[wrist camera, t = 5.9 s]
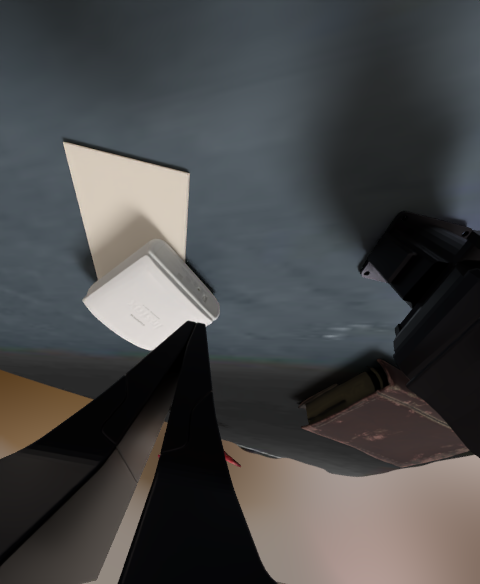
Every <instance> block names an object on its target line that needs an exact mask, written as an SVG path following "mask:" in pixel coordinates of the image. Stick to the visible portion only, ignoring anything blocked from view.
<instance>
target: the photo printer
mask: <svg viewBox="0 0 480 584" xmlns="http://www.w3.org/2000/svg"><path fill="white" fill-rule="evenodd" d="M82 301H83V302H84V304H85V305H86V307H87V308H88V309H89V310H90V312H91V313H92V314H93V315H94V316H95V317H96V318H97V319H99V320H100V321H101V322H102V323H103V324H104V325H106V326H107V327H108V328H109V329H111V330H112V331H113V332H115V333H116V334H118V335H119V336H121V337H122V338H124V339H126V340H127V341H129V342H131V343H132V344H134V345H136V346H138V347H141V348H143V349H147V350H154V349H155V348H156V347H157V346H158V345H160V344H161V343H162V342H163V341H164V340H165V339H166V338H168V337H169V336H170V335H171V334H172V333H173V332H175V331H176V330H177V329H178V328H179V327H180V326H182V325H183V324H184V323H185V322H186V321H193V322H196V323H197V322H198V323H203V324H205V325H206V326H208V325H209V324H211V323H212V321H213V320H215V319H217V318H218V316H219V313H220V306H219V303H218V302H217V299H216V298H215V297H214V295H213V294H212V293H211V291H210V290H209V289H208V288H207V287H206V286H205V285H204V284H203V282H202V281H201V280H200V279H199V278H198V277H197V276H196V275H195V273H194V272H193V271H192V270H191V269H190V268H189V267H188V266H187V265H186V263H185V262H184V261H183V260H182V259H181V258H180V257H179V256H178V255H177V253H176V252H175V251H174V250H173V249H172V248H171V247H170V246H169V245H168V244H167V243H166V242H165V241H163V240H161V239H153V240H151V241H149V242H148V243H147V244H145V245H144V246H143V247H141V248H140V249H139V250H137V251H136V252H135V253H133V254H132V255H131V256H129V257H128V258H127V259H125V260H124V261H123V262H121V263H120V264H119V265H118V266H116V267H115V268H114V269H112V270H111V271H110V272H108V273H107V274H106V275H104V276H103V277H102V278H101V279H99V280H98V281H97V282H95V283H94V284H93V285H92V286H91V287H90V289H89V290H88V293H87V296H86V297H84V298H83V299H82Z"/></svg>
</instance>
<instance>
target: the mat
mask: <svg viewBox="0 0 480 584" xmlns="http://www.w3.org/2000/svg"><path fill="white" fill-rule="evenodd" d="M63 144H64V148H65V152H66V156H67V160H68V164H69V168H70V172H71V176H72V180H73V184H74V188H75V192H76V195H77V199H78V203H79V207H80V211H81V215H82V219H83V223H84V227H85V231H86V235H87V239H88V243H89V247H90V251H91V254H92V258H93V262H94V266H95V270H96V274H97V278H98V280H99V279H101V278H102V277H103V276H104V275H106V274H107V273H108V272H110V271H111V270H112V269H114V268H115V267H116V266H118V265H119V264H120V263H121V262H123V261H124V260H125V259H127V258H128V257H129V256H131V255H132V254H133V253H135V252H136V251H137V250H139V249H140V248H141V247H143V246H144V245H145V244H147V243H148V242H149V241H151V240H153V239H161V240H163V241H165V242H166V243H167V244H168V245H169V246H170V247H171V248H172V249H173V250H174V251H175V252H176V253H177V255H178V256H179V257H180V258H181V259H182V260H183V261H184V262H185V253H186V235H187V216H188V198H189V180H190V173H187V172H183V171H179V170H175V169H171V168H167V167H163V166H159V165H155V164H152V163H148V162H144V161H140V160H136V159H132V158H128V157H124V156H120V155H116V154H112V153H108V152H104V151H100V150H96V149H92V148H88V147H84V146H80V145H76V144H72V143H68V142H63Z"/></svg>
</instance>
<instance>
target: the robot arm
mask: <svg viewBox="0 0 480 584" xmlns="http://www.w3.org/2000/svg"><path fill="white" fill-rule="evenodd" d="M403 216H406V217H405V218H404V219H403V220H401V219H402V217H403ZM463 232H465V233H464V234H462V233H463ZM366 271H368V272H367V273H365V272H366ZM360 274H361V275H362V277H364V278H369V279H373V280H377V281H381V282H386V283H389V284H390V285H391V287H392V288H393V289H394V290H395V291H396V292H397V293H398V295H399V296H400V297H401V298H402V299H403V300H404V301H405V302H406V303H407V304H408V305H409V306H410V307H411V308H412V310H411V311H410V312H409V314H408V315H407V316H406V317H405V319H404V320H403V321H402V322H401V324H398V325H397V326H396V328H395V333H396V338H395V340H394V351H395V354H394V355H393V358H394V360H395V361H396V363H397V365H398V367H399V368H400V369H401V371H402V372H403V373H404V374H405V376H406V377H407V378H408V379H409V380H410V381H409V382H408V383H407V384H406V387H407V388H408V389H409V390H410V391H412V392H413V393H414V394H416V395H417V396H419V397H420V398H421V399H423V400H424V401H425V402H426V403H427V404H428V405H430V406H431V407H432V408H433V409H434V410H435V411H436V412H437V413H438V414H439V415H440V416H441V417H442V418H443V419H444V420H445V422H446V423H447V424H448V425H449V426H450V427H451V429H452V430H453V431H454V432H455V434H456V435H457V436H458V437H459V438H460V440H461V441H462V442H463V443H464V445H465V446H466V447H467V448H468V449H469V450H470V451H471V452H472V453H474V454H475V455H476V456H478V457H479V458H480V231H476V230H472V229H471V228H469V227H466V226H462V225H458V224H454V223H450V222H446V221H443V220H439V219H435V218H431V217H427V216H423V215H419V214H415V213H411V212H407V211H403V212H400V213H399V214H398V215H397V216H396V218H395V219H394V221H393V222H392V224H391V225H390V227H389V228H388V230H387V231H386V233H385V234H384V235H383V236H382V237H381V239H380V240H379V242H378V243H377V245H376V246H375V248H374V249H373V251H372V252H371V254H370V255H369V257H368V260H367V261H366V263H365V264H364V266H363V267H362V269H361V270H360ZM172 401H173V403H172ZM171 403H172V407H171V412H170V416H169V420H168V424H167V429H166V433H165V436H164V441H163V445H162V449H161V455H160V457H159V461H158V465H157V469H156V473H155V476H154V479H153V482H152V486H151V488H150V491H149V494H148V497H147V500H146V503H145V506H144V509H143V511H142V515H141V517H140V520H139V523H138V526H137V529H136V532H135V535H134V538H133V541H132V543H131V547H130V549H129V552H128V555H127V558H126V561H125V564H124V567H123V570H122V573H121V576H120V579H119V582H118V584H285V583H280V582H276V581H275V580H273V579H272V578H271V577H270V575H269V574H268V572H267V571H266V570H265V568H264V566H263V564H262V562H261V560H260V557H259V554H258V552H257V549H256V546H255V544H254V541H253V538H252V536H251V533H250V531H249V528H248V525H247V523H246V520H245V518H244V515H243V512H242V510H241V507H240V504H239V502H238V499H237V496H236V494H235V491H234V488H233V484H232V481H231V478H230V474H229V470H228V466H227V462H226V458H225V454H224V449H223V445H222V441H221V437H220V433H219V428H218V424H217V419H216V414H215V407H214V399H213V392H212V381H211V371H210V362H209V353H208V343H207V334H206V325H205V324H203V323H198V322H197V323H196V322H193V321H186V322H185V323H184V324H183V325H182V326H180V327H179V328H178V329H177V330H176V331H175V332H173V333H172V334H171V335H170V336H169V337H168V338H166V339H165V340H164V341H163V342H162V343H161V344H160V345H158V346H157V347H156V348H155V349H154V350H153V351H151V352H150V353H149V354H148V355H147V356H146V357H145V358H143V359H142V360H141V361H140V362H139V363H138V364H136V365H135V366H134V367H133V368H132V369H131V370H129V371H128V372H127V373H126V375H124V376H122V377H121V378H120V379H119V380H118V381H117V382H115V383H114V384H113V385H112V386H111V387H109V388H108V389H107V390H106V391H105V392H103V393H102V394H101V395H99V396H98V397H97V398H95V399H94V400H93V401H91V402H90V403H89V404H87V405H86V406H85V407H83V408H82V409H81V410H79V411H78V412H76V413H75V414H74V415H73V416H71V417H70V418H68V419H67V420H65V421H64V422H63V423H61V424H60V425H59V426H57V427H56V428H54V429H53V430H52V431H50V432H49V433H47V434H46V435H45V436H43V437H42V438H40V439H39V440H37V441H36V442H34V443H32V444H30V445H29V446H27V447H25V448H23V449H21V450H19V451H17V452H16V453H13V454H11V455H9V456H6V457H4V458H2V459H0V584H82V583H86V582H91V581H95V580H97V578H98V575H99V573H100V570H101V568H102V566H103V564H104V561H105V559H106V557H107V554H108V552H109V550H110V547H111V545H112V542H113V540H114V538H115V535H116V533H117V531H118V528H119V526H120V524H121V521H122V519H123V517H124V514H125V512H126V510H127V507H128V505H129V502H130V500H131V498H132V495H133V493H134V491H135V488H136V486H137V483H138V481H139V479H140V476H141V474H142V471H143V469H144V467H145V465H146V462H147V460H148V458H149V455H150V453H151V450H152V448H153V446H154V443H155V441H156V439H157V436H158V434H159V432H160V429H161V427H162V424H163V422H164V420H165V417H166V415H167V413H168V410H169V408H170V406H171Z"/></svg>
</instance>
